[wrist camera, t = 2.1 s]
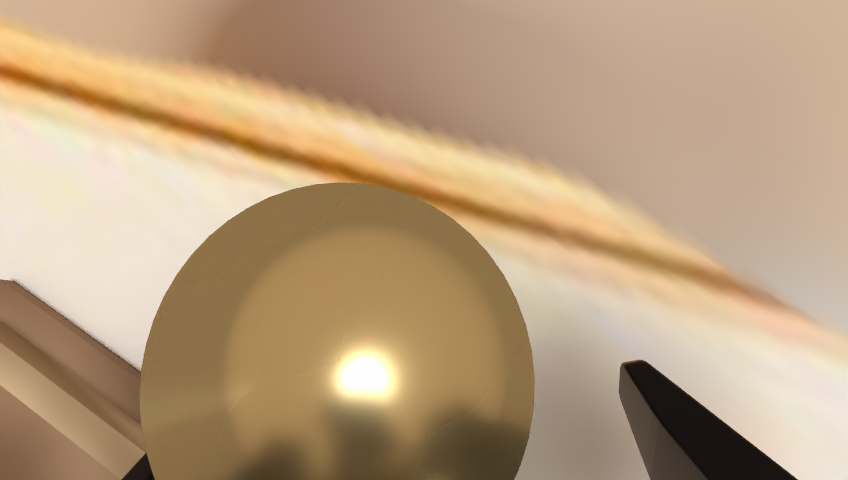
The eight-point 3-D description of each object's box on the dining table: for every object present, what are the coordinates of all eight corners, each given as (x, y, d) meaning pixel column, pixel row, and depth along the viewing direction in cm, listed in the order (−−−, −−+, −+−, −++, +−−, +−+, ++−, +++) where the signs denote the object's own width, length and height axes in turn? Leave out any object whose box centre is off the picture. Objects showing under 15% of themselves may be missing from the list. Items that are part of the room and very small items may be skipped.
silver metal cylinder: (449, 434, 18) (395, 703, 5) (343, 366, 18) (64, 444, 6) (511, 323, 18) (609, 303, 5) (406, 262, 19) (279, 121, 6)
